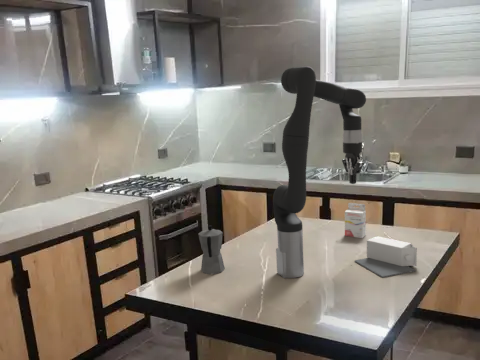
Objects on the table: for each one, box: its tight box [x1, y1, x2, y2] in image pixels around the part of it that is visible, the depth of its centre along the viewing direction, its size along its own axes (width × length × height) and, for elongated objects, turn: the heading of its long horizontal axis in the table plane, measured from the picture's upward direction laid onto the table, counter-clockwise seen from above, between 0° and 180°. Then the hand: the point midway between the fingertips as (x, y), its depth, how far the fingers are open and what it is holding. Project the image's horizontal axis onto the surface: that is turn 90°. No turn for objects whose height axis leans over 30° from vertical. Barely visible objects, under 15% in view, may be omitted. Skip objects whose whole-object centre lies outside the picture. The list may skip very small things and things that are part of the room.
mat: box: [354, 257, 416, 278], centre depth 177 cm, size 14×18×1 cm
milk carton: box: [366, 235, 418, 267], centre depth 180 cm, size 7×7×19 cm
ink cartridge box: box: [344, 202, 367, 239], centre depth 213 cm, size 9×5×15 cm, turn 58°
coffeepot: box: [198, 225, 226, 275], centre depth 180 cm, size 15×9×18 cm, turn 179°
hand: (352, 183), depth 191 cm, fingers closed
